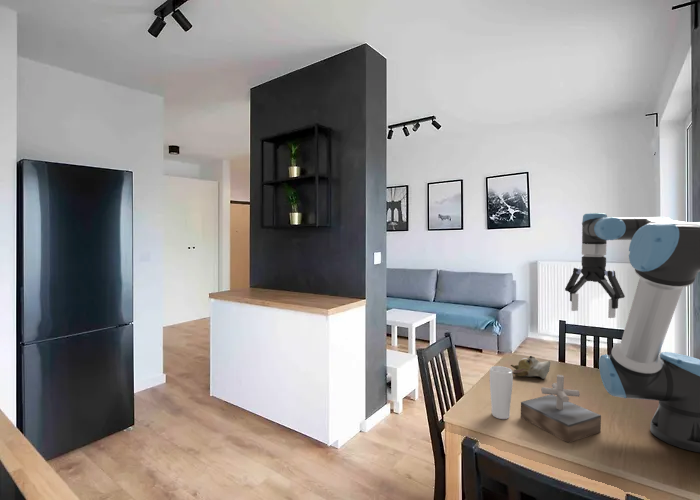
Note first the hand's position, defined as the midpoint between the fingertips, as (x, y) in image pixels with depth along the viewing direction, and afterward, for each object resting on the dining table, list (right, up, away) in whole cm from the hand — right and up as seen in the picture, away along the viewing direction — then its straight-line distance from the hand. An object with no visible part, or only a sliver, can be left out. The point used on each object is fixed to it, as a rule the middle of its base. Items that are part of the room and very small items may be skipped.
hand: (592, 314), depth 138 cm
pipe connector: (-25, -25, -24) cm, 43 cm away
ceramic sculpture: (-15, -29, +16) cm, 36 cm away
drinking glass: (-41, -30, -18) cm, 53 cm away
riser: (-25, -30, -23) cm, 45 cm away
